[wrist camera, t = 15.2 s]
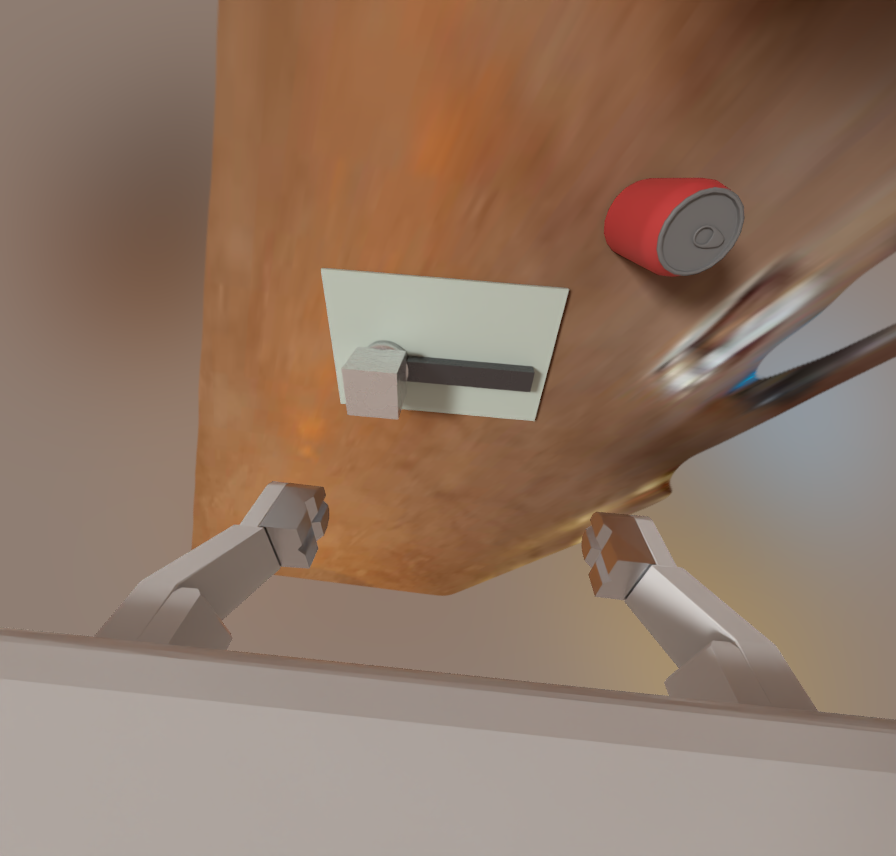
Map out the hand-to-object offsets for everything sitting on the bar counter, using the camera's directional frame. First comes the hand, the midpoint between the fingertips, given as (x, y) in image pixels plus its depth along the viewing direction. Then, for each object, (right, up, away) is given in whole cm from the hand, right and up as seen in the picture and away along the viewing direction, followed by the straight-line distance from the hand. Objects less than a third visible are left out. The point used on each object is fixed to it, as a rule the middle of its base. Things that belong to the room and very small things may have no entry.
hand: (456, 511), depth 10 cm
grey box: (-8, +10, +32) cm, 35 cm away
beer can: (+19, +24, +24) cm, 38 cm away
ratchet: (0, +10, +34) cm, 36 cm away
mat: (-1, +12, +33) cm, 36 cm away
